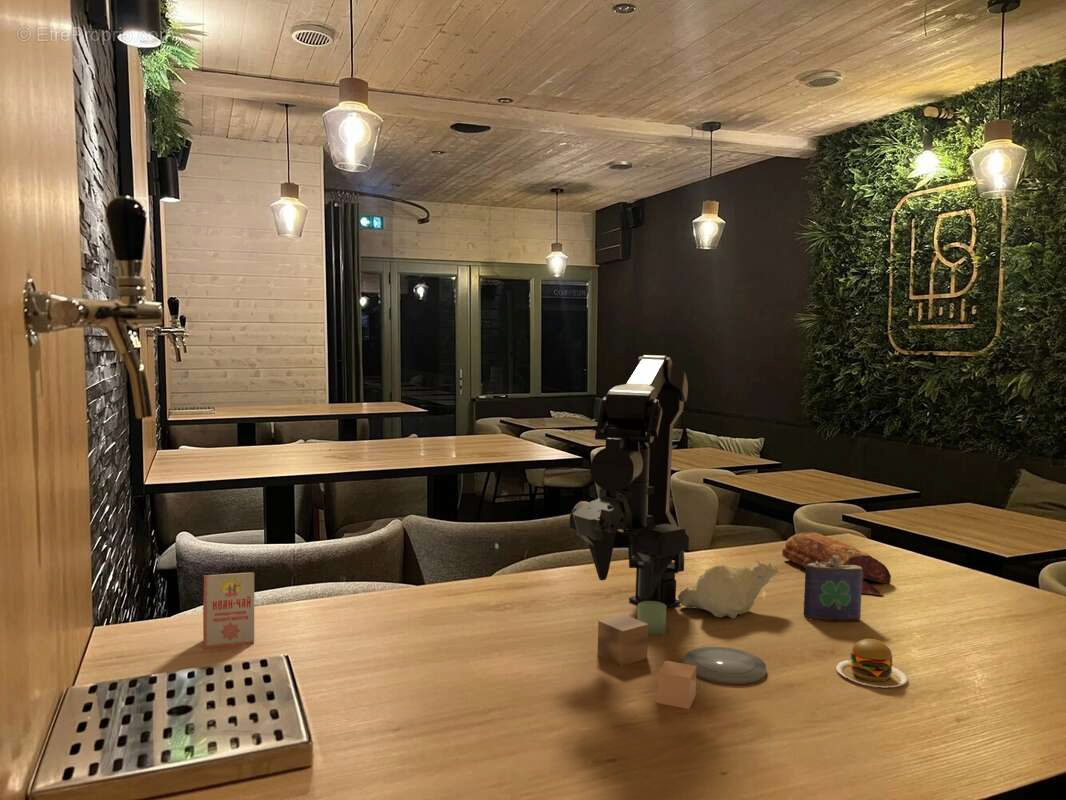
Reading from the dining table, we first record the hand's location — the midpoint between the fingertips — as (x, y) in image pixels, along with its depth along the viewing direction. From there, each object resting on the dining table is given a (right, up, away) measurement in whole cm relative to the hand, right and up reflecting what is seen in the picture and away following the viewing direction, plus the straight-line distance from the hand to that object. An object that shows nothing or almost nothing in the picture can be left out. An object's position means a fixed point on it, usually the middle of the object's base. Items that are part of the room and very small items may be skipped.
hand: (624, 588), depth 112 cm
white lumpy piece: (+20, -9, +22) cm, 31 cm away
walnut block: (0, -10, +1) cm, 10 cm away
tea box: (-57, -9, +3) cm, 58 cm away
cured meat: (+46, -9, +43) cm, 64 cm away
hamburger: (+33, -12, -4) cm, 35 cm away
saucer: (+14, -10, -3) cm, 17 cm away
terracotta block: (+5, -11, -13) cm, 18 cm away
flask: (+36, -10, +18) cm, 42 cm away
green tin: (+5, -9, +11) cm, 16 cm away
